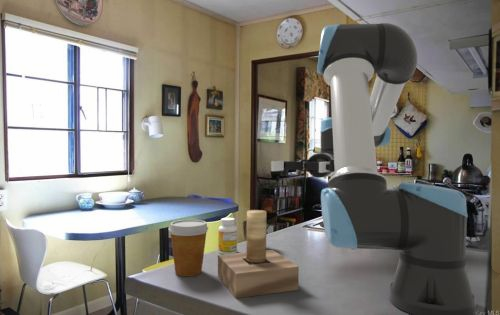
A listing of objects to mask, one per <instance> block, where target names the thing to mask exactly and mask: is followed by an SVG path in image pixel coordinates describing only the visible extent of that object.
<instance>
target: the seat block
mask: <svg viewBox="0 0 500 315" xmlns="http://www.w3.org/2000/svg"><path fill="white" fill-rule="evenodd" d="M299 269H300V268H299V266H298V265H296V264H295V263H294V262H292V261H290V260H289V259H288V258H286V257H284V256H283V255H282V254H280V253H279V252H276V251H275V250H274V249H268V250H267V249H266V261H265V262H264V263H263V264H253V265H249V262H247V261H246V252H236V253H234V254H217V277H218V278H219V280H220V281H221V282H222V283H223V285H224V286H225V287H226V288H227V290H228V291H229V293H230V294H232V295H233V297H234V298H235V299H241V298H247V297H255V296H257V297H258V296H262V295H271V294H276V293H277V294H278V293H279V294H280V293H285V292H293V291H299V275H300V274H299V273H300V272H299Z"/></svg>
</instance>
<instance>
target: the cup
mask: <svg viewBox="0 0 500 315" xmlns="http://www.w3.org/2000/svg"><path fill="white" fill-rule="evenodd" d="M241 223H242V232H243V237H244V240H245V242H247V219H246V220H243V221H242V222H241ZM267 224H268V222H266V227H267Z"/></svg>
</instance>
